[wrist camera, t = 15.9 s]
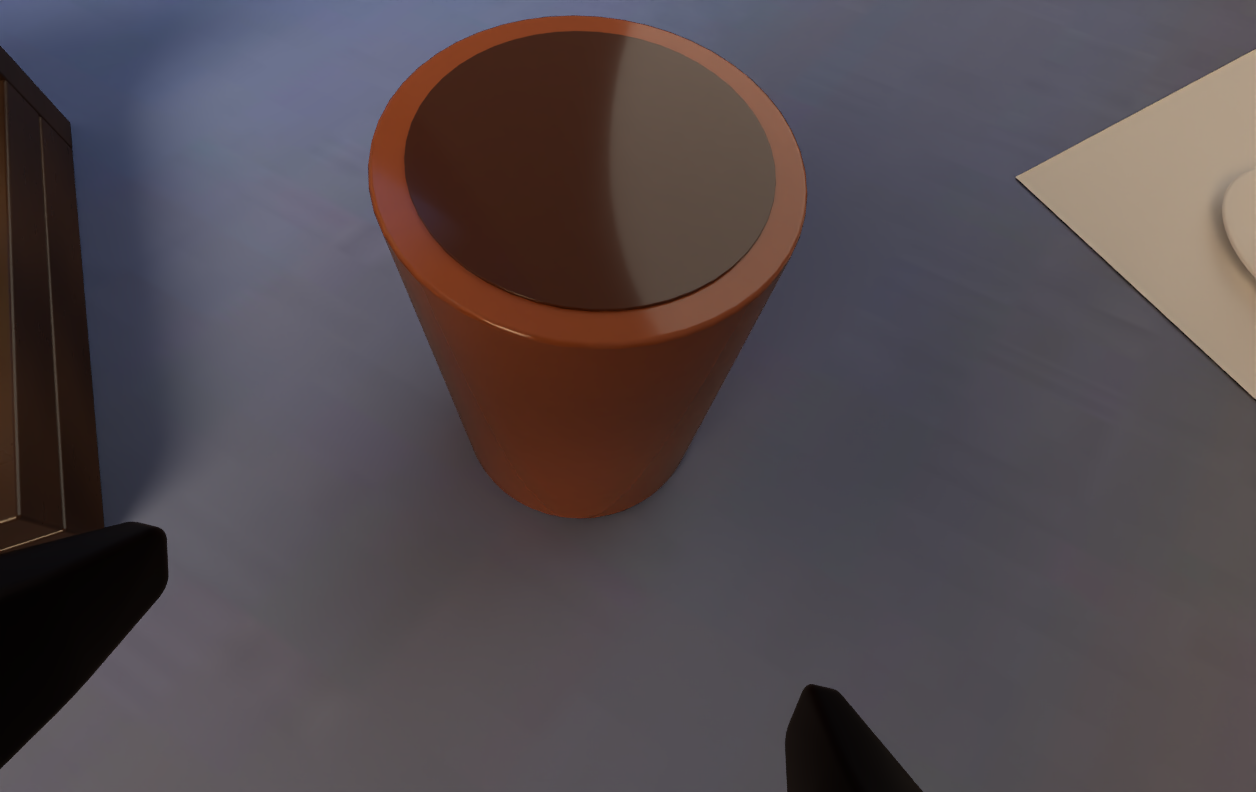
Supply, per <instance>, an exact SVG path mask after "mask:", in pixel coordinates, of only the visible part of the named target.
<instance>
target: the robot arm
mask: <svg viewBox="0 0 1256 792" xmlns="http://www.w3.org/2000/svg"><path fill="white" fill-rule="evenodd" d="M167 581H168V555H167V537H166V534H165V532H164V531H163V530H162V529H160V528H159V527H155V526H151V525H147V524H143V523H139V522H125V523H121V524H117V525H113V526H109V527H105V528H101V529H97V530H93V531H89V532H86V533H82V534H78V535H74V536H70V537H66V538H62V539H58V540H54V541H50V542H46V543H42V544H38V545H34V546H30V547H26V548H22V549H18V550H14V551H10V552H6V553H2V554H0V769H1V768H2V767H3V766H4V765H5V764H6V763H7V762H8V761H9V760H10V759H11V758H12V757H13V756H14V755H15V754H16V753H17V752H18V751H19V750H20V749H21V748H22V747H23V746H24V745H25V744H26V743H27V742H28V741H29V740H30V739H31V738H32V737H33V736H34V735H35V734H36V733H37V732H38V731H39V730H40V729H41V728H42V727H43V726H44V725H45V724H46V723H47V722H48V721H49V720H51V719H52V718H53V717H54V716H55V715H56V714H57V713H58V712H59V710H60V709H61V708H62V707H63V706H64V705H65V704H66V703H67V702H68V701H69V700H70V699H71V698H72V697H73V696H74V695H75V694H76V693H77V692H78V691H79V689H80V688H81V687H82V686H83V685H84V684H85V683H86V682H87V681H88V680H89V678H90V677H91V676H92V675H93V674H94V673H95V671H96V670H97V669H98V668H99V667H100V666H101V664H102V663H103V662H104V661H105V660H106V659H107V657H108V656H109V655H110V654H111V653H112V652H113V650H114V649H115V648H116V647H117V646H118V645H119V644H120V642H121V641H122V640H123V639H124V638H125V637H126V635H127V634H128V633H129V632H130V631H131V630H132V628H133V627H134V626H135V625H136V624H137V623H138V621H139V620H140V619H141V618H142V617H143V616H144V614H145V613H146V612H147V611H148V610H149V609H150V607H151V606H152V605H153V604H154V603H155V602H156V601H157V599H158V598H159V597H160V596H161V594H162V593H163V591H164V589H165V587H166V585H167ZM785 754H786V775H787V792H923V791H922V790H921V789H920V788H919V786H918V785H917V784H916V783H915V782H914V781H913V779H912V778H911V777H910V776H909V775H908V773H907V772H906V771H905V770H904V769H903V767H902V766H901V765H900V764H899V763H898V761H897V760H896V759H895V758H894V757H893V755H892V754H891V753H890V752H889V751H888V749H887V748H886V747H885V746H884V745H883V744H882V742H881V741H880V740H879V739H878V738H877V736H876V735H875V734H874V733H873V732H872V730H871V729H870V728H869V727H868V726H867V724H866V723H865V722H864V721H863V720H862V718H861V717H860V716H859V715H858V714H857V712H856V711H855V710H854V709H853V708H852V707H851V705H850V704H849V703H848V702H847V701H846V699H845V698H844V697H843V696H842V695H841V694H840V693H839V692H838V691H837V690H834V689H831V688H827V687H823V686H818V685H814V684H809V685H807V686H806V687H805V688H804V689H803V691H802V693H801V696H800V698H799V701H798V703H797V705H796V708H795V710H794V713H793V715H792V718H791V720H790V722H789V725H788V728H787V732H786V738H785Z"/></svg>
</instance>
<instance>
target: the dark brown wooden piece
mask: <svg viewBox="0 0 1256 792" xmlns="http://www.w3.org/2000/svg"><path fill="white" fill-rule="evenodd" d="M101 528H104V517H103V506H102V494H101V482H100V470H99V459H98V447H97V435H96V423H95V412H94V400H93V388H92V376H91V365H90V353H89V341H88V330H87V318H86V306H85V294H84V283H83V271H82V259H81V247H80V236H79V224H78V212H77V200H76V189H75V177H74V165H73V154H72V139H71V127H70V122H69V121H68V120H67V119H66V118H65V117H64V116H63V114H62V113H61V112H60V111H59V110H58V109H57V108H56V107H55V106H54V104H53V103H52V102H51V101H50V100H49V99H48V98H47V97H46V96H45V94H44V93H43V92H42V91H41V90H40V89H39V88H38V87H37V86H36V85H35V83H34V82H33V81H32V80H31V79H30V78H29V77H28V76H27V75H26V73H25V72H24V71H23V70H22V69H21V68H20V67H19V66H18V65H17V64H16V62H15V61H14V60H13V59H12V58H11V57H10V56H9V55H8V54H7V52H6V51H5V50H4V49H3V48H2V47H1V46H0V554H2V553H6V552H10V551H14V550H18V549H22V548H26V547H30V546H34V545H38V544H42V543H46V542H50V541H54V540H58V539H62V538H66V537H70V536H74V535H78V534H82V533H86V532H89V531H93V530H97V529H101Z"/></svg>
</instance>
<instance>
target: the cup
mask: <svg viewBox="0 0 1256 792" xmlns="http://www.w3.org/2000/svg"><path fill="white" fill-rule="evenodd" d="M368 180H369V192H370V197H371V202H372V206H373V211H374V214H375V216H376V219H377V221H378V224H379V226H380V228H381V231H382V233H383V236H384V238H385V240H386V243H387V245H388V248H389V250H390V252H391V255H392V257H393V259H394V262H395V264H396V267H397V269H398V271H399V274H400V276H401V279H402V281H403V283H404V286H405V288H406V290H407V293H408V295H409V298H410V300H411V302H412V305H413V307H414V309H415V312H416V314H417V317H418V319H419V321H420V324H421V326H422V328H423V331H424V333H425V336H426V338H427V340H428V343H429V345H430V348H431V350H432V352H433V355H434V357H435V359H436V362H437V364H438V367H439V369H440V371H441V374H442V376H443V378H444V381H445V383H446V386H447V388H448V390H449V393H450V395H451V397H452V400H453V402H454V405H455V407H456V409H457V412H458V414H459V417H460V419H461V421H462V424H463V426H464V428H465V431H466V433H467V436H468V438H469V440H470V443H471V445H472V447H473V450H474V452H475V455H476V457H477V459H478V460H479V462H480V464H481V466H482V467H483V469H484V470H485V472H486V473H487V474H488V475H489V477H490V478H491V479H492V480H493V482H494V483H495V484H497V485H498V486H499V487H500V488H501V489H502V490H503V491H504V492H505V493H507V494H508V495H510V496H511V497H512V498H514V499H515V500H517V501H518V502H520V503H522V504H524V505H526V506H528V507H530V508H532V509H535V510H537V511H540V512H543V513H546V514H550V515H555V516H559V517H567V518H595V517H601V516H606V515H611V514H614V513H617V512H620V511H624V510H626V509H628V508H630V507H632V506H635V505H637V504H639V503H640V502H642V501H643V500H645V499H646V498H648V497H650V496H651V495H652V494H653V493H655V492H656V491H657V490H658V489H659V488H660V487H662V486H663V485H664V484H665V482H666V481H667V480H668V479H669V478H670V477H671V476H672V474H673V473H674V471H675V470H676V468H677V467H678V465H679V464H680V462H681V460H682V459H683V457H684V455H685V453H686V451H687V449H688V447H689V446H690V444H691V442H692V440H693V438H694V436H695V434H696V432H697V431H698V429H699V427H700V425H701V423H702V421H703V419H704V418H705V416H706V414H707V412H708V410H709V408H710V406H711V405H712V403H713V401H714V399H715V397H716V395H717V393H718V392H719V390H720V388H721V386H722V384H723V382H724V380H725V379H726V377H727V375H728V373H729V371H730V369H731V367H732V366H733V364H734V362H735V360H736V358H737V356H738V354H739V353H740V351H741V349H742V347H743V345H744V343H745V341H746V340H747V338H748V336H749V334H750V332H751V330H752V328H753V327H754V325H755V323H756V321H757V319H758V317H759V315H760V314H761V312H762V310H763V308H764V306H765V304H766V302H767V301H768V299H769V297H770V295H771V293H772V291H773V289H774V288H775V286H776V284H777V282H778V280H779V278H780V276H781V275H782V273H783V271H784V269H785V267H786V265H787V263H788V262H789V260H790V258H791V256H792V253H793V251H794V249H795V247H796V245H797V243H798V240H799V238H800V235H801V231H802V227H803V224H804V220H805V216H806V204H807V185H806V173H805V168H804V164H803V160H802V156H801V152H800V149H799V147H798V144H797V142H796V139H795V137H794V135H793V132H792V130H791V128H790V127H789V125H788V123H787V122H786V120H785V118H784V117H783V115H782V113H781V112H780V111H779V109H778V108H777V107H776V106H775V104H774V103H773V102H772V100H771V99H770V98H769V97H768V95H767V94H766V93H765V92H764V91H763V90H762V89H761V88H760V87H759V86H758V85H757V84H756V83H755V82H754V81H753V80H752V79H751V78H749V77H748V76H747V75H746V74H744V73H743V72H742V71H741V70H739V69H738V68H737V67H736V66H734V65H733V64H731V63H730V62H728V61H727V60H725V59H724V58H722V57H721V56H719V55H718V54H716V53H714V52H713V51H711V50H709V49H707V48H705V47H703V46H701V45H699V44H697V43H695V42H693V41H691V40H689V39H686V38H684V37H681V36H679V35H676V34H674V33H671V32H668V31H665V30H662V29H659V28H655V27H652V26H649V25H645V24H640V23H636V22H631V21H627V20H621V19H614V18H606V17H598V16H575V15H572V16H549V17H541V18H533V19H525V20H521V21H516V22H512V23H507V24H503V25H499V26H496V27H493V28H490V29H487V30H484V31H481V32H478V33H476V34H473V35H471V36H469V37H467V38H464V39H462V40H460V41H458V42H456V43H454V44H452V45H451V46H449V47H447V48H445V49H444V50H442V51H440V52H439V53H437V54H435V55H434V56H433V57H432V58H430V59H429V60H428V61H426V62H425V63H424V64H422V65H421V66H420V67H418V68H417V69H416V70H415V71H414V72H413V73H412V74H411V75H410V76H409V77H408V78H407V79H406V80H405V81H404V82H403V83H402V84H401V86H400V87H399V88H398V90H397V91H396V92H395V94H394V95H393V96H392V98H391V99H390V100H389V102H388V104H387V106H386V108H385V110H384V111H383V113H382V115H381V117H380V119H379V121H378V124H377V127H376V130H375V133H374V136H373V139H372V143H371V149H370V156H369V163H368Z"/></svg>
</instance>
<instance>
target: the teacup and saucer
mask: <svg viewBox="0 0 1256 792" xmlns="http://www.w3.org/2000/svg"><path fill="white" fill-rule="evenodd" d="M1221 217H1222V223H1223V227H1224V230H1225V233H1226V236H1227V238H1228V240H1229V243H1230V245H1231V247H1232V248H1233V250H1234V252H1235V254H1236V255H1237V257H1238V258H1239V260H1240V261H1241V263H1242V264H1243V265H1244V267H1245V268H1246V269H1247V271H1248V272H1249V273H1250V274H1251V275H1252V277H1253V278H1254V279H1255V280H1256V167H1255V168H1252V169H1249V170H1247V171H1245V172H1243V173H1241V174H1240V175H1238V176H1237V177H1236V178H1235V179H1234V180H1233V181H1232V182H1231V183H1230V184H1229V185H1228V187H1227V188H1226V190H1225V192H1224V195H1223V198H1222V203H1221Z"/></svg>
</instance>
